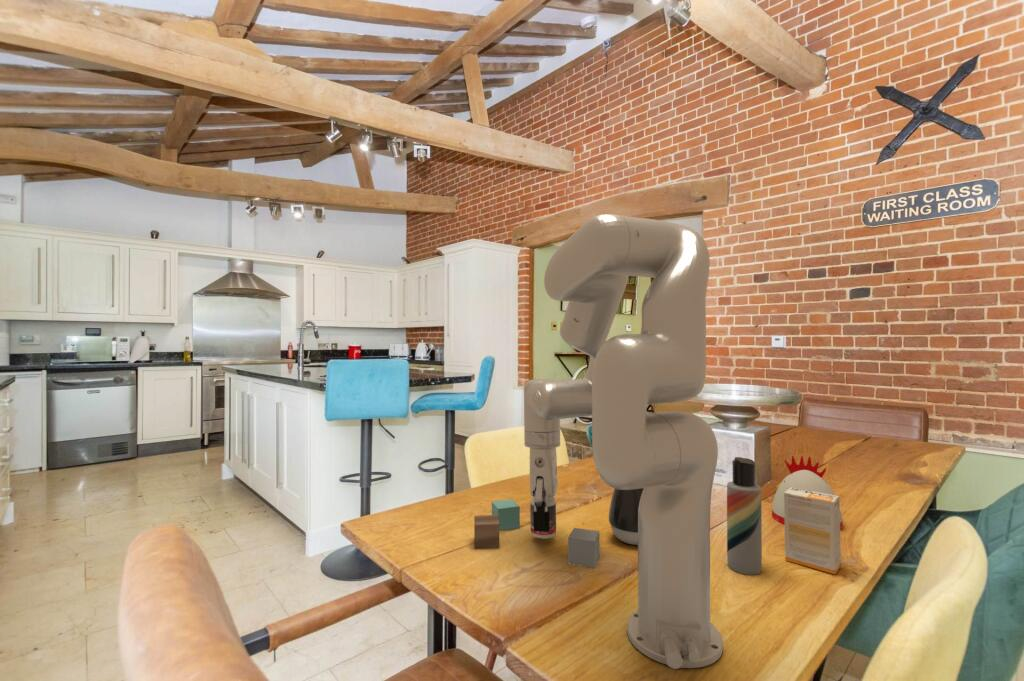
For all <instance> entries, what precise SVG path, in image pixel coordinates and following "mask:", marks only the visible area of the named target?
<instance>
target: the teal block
mask: <svg viewBox="0 0 1024 681" xmlns="http://www.w3.org/2000/svg"><path fill="white" fill-rule="evenodd" d="M520 508H521V506H520V504H518V503H517V502H516V501H515V500H514V499H512V498H510V499H502V500H501V499H500V500H495V501H491V515H498V518H499V532H503V531H510V530H511V531H512V530H517V529H520V526H521V524H520V522H521V516H520V514H521V510H520Z"/></svg>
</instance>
